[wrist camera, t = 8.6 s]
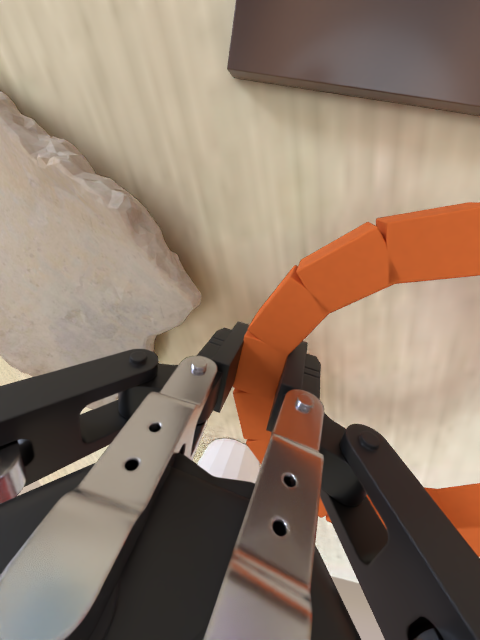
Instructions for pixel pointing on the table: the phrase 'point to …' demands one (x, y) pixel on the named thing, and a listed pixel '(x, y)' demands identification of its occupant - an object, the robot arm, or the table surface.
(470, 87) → the peg board
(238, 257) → the table surface
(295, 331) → the ring
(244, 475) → the white cylinder
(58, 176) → the stone slab
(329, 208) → the table surface
